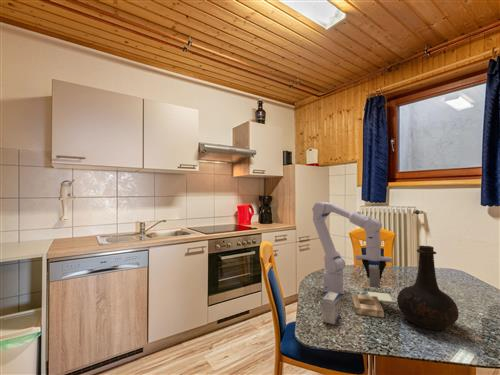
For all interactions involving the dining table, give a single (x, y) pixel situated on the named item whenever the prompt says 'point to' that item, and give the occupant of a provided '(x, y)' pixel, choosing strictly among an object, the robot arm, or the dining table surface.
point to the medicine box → (330, 307)
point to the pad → (381, 296)
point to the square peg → (374, 277)
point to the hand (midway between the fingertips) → (373, 277)
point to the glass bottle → (427, 297)
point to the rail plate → (367, 305)
